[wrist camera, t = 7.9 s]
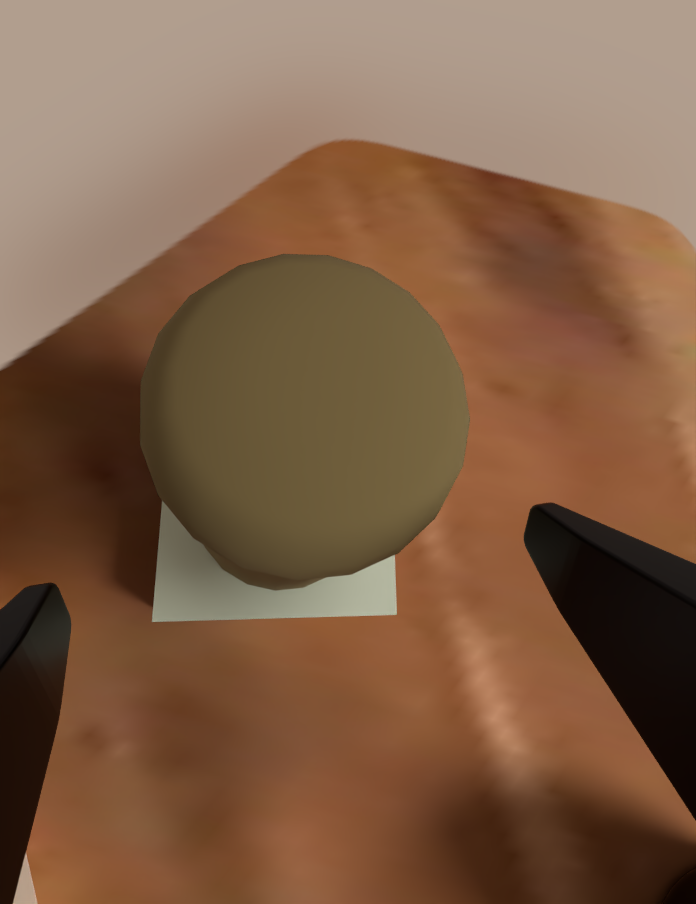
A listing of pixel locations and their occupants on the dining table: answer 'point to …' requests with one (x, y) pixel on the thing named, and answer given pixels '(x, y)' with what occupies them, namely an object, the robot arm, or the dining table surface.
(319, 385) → the cork
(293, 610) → the base brick
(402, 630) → the dining table surface
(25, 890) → the brick
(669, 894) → the supplement bottle
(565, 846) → the dining table surface
